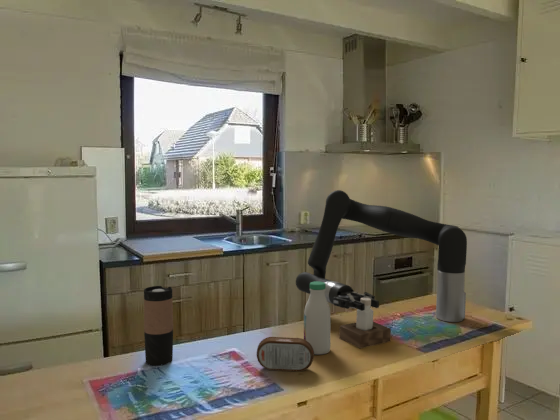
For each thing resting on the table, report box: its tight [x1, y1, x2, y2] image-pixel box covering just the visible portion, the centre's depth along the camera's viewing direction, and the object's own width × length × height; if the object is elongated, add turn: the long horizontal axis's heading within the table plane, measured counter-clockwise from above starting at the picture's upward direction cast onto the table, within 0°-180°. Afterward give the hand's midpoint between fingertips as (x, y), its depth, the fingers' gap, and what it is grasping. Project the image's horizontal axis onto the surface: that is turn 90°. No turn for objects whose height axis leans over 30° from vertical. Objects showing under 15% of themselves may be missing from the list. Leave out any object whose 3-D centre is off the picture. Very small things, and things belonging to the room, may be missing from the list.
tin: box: [256, 336, 315, 372], centre depth 123 cm, size 15×3×8 cm, turn 84°
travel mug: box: [143, 285, 174, 367], centre depth 128 cm, size 8×8×20 cm
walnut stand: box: [338, 321, 392, 349], centre depth 145 cm, size 12×10×4 cm
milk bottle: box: [303, 281, 331, 356], centre depth 136 cm, size 8×8×20 cm
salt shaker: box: [355, 298, 374, 331], centre depth 145 cm, size 4×4×10 cm
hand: (370, 305), depth 142 cm, fingers open, 5 cm apart
